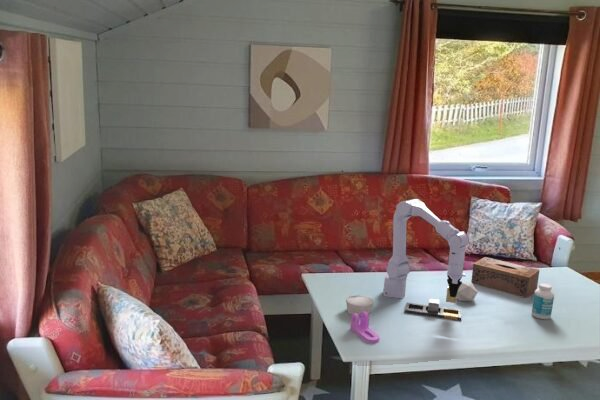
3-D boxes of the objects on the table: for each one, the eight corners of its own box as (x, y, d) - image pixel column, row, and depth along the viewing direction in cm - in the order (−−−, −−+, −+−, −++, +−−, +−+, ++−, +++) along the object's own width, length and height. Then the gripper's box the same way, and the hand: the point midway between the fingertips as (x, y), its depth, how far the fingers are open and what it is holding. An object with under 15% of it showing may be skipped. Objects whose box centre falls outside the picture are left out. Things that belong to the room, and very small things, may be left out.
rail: (404, 314, 222) (404, 309, 222) (406, 306, 230) (406, 302, 229) (460, 322, 217) (461, 317, 216) (460, 314, 224) (461, 309, 224)
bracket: (350, 329, 207) (351, 312, 206) (362, 326, 210) (364, 310, 208) (369, 344, 196) (370, 326, 194) (382, 341, 198) (383, 323, 197)
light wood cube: (446, 301, 219) (447, 289, 218) (446, 298, 222) (447, 286, 221) (456, 303, 218) (457, 291, 217) (456, 299, 222) (457, 287, 220)
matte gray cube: (427, 313, 222) (428, 302, 221) (428, 309, 225) (429, 298, 224) (437, 315, 221) (439, 303, 220) (438, 311, 224) (439, 299, 223)
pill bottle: (542, 321, 221) (546, 289, 218) (527, 314, 227) (531, 283, 224) (554, 318, 224) (559, 287, 221) (539, 311, 231) (544, 281, 228)
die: (472, 308, 233) (484, 288, 234) (454, 296, 233) (466, 276, 235) (465, 307, 241) (477, 287, 243) (448, 295, 242) (459, 276, 243)
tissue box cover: (536, 290, 256) (539, 269, 253) (526, 298, 245) (529, 277, 242) (482, 276, 271) (485, 256, 269) (471, 283, 261) (473, 263, 258)
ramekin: (357, 304, 231) (357, 292, 230) (378, 312, 223) (379, 300, 222) (339, 311, 223) (340, 299, 222) (360, 320, 215) (361, 307, 214)
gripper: (467, 269, 209) (463, 302, 212) (466, 258, 222) (462, 289, 225) (448, 267, 210) (444, 300, 213) (448, 256, 224) (445, 287, 227)
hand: (452, 294), depth 219 cm, fingers closed on light wood cube, 4 cm apart
